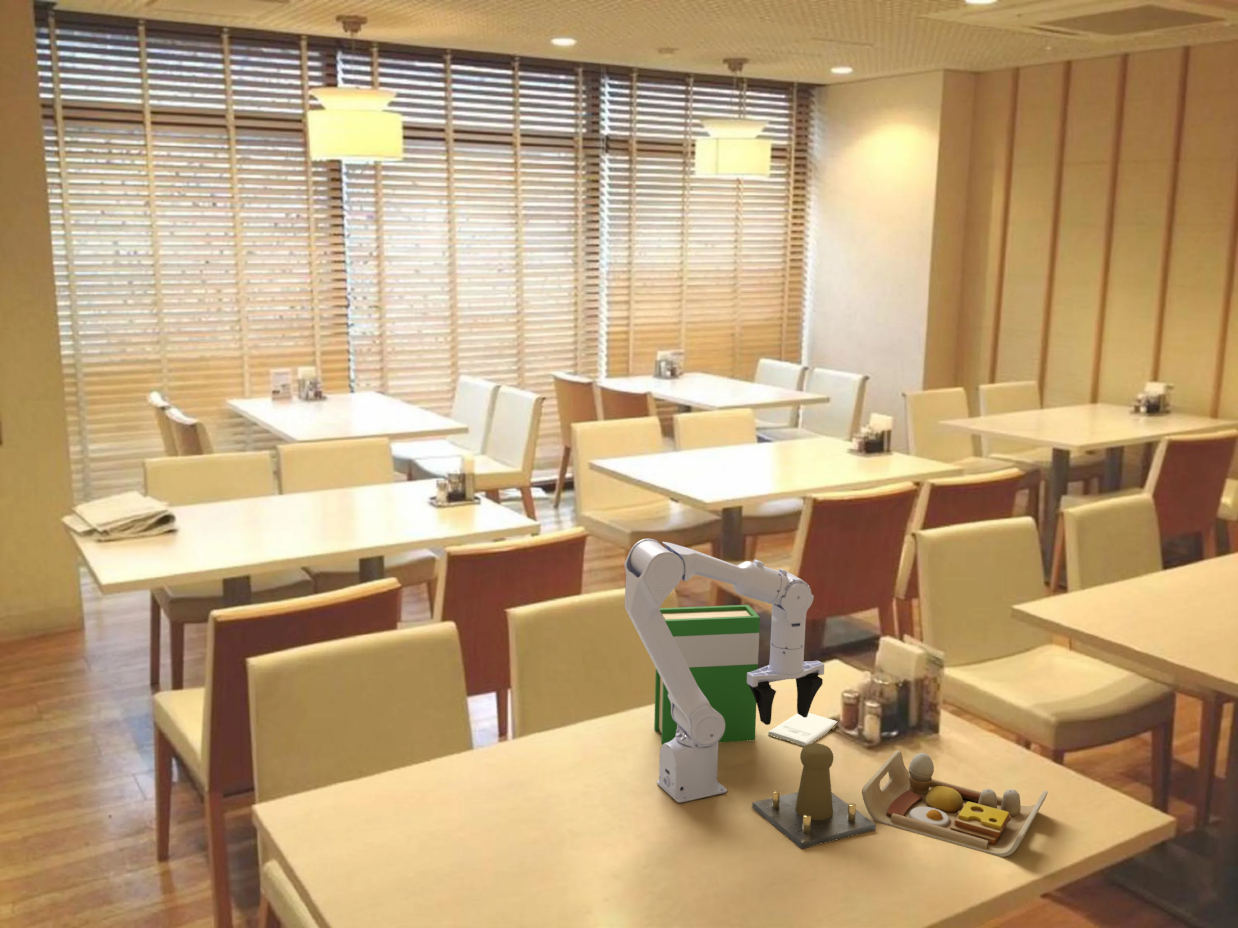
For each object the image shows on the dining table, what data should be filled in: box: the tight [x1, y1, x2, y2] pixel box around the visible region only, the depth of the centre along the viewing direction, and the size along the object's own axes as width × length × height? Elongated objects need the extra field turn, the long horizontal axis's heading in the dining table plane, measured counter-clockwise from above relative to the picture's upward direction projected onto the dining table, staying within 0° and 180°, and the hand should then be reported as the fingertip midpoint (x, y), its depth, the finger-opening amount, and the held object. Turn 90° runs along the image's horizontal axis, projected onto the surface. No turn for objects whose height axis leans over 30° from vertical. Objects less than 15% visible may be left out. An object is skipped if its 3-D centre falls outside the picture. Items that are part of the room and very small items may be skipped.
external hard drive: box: [767, 712, 838, 747], centre depth 213 cm, size 2×8×12 cm
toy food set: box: [861, 749, 1049, 858], centre depth 181 cm, size 25×18×8 cm
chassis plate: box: [752, 790, 877, 850], centre depth 179 cm, size 14×14×4 cm
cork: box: [795, 742, 834, 820], centre depth 179 cm, size 6×6×11 cm
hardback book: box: [653, 604, 761, 746], centre depth 209 cm, size 18×7×24 cm, turn 100°
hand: (783, 718), depth 193 cm, fingers open, 7 cm apart
